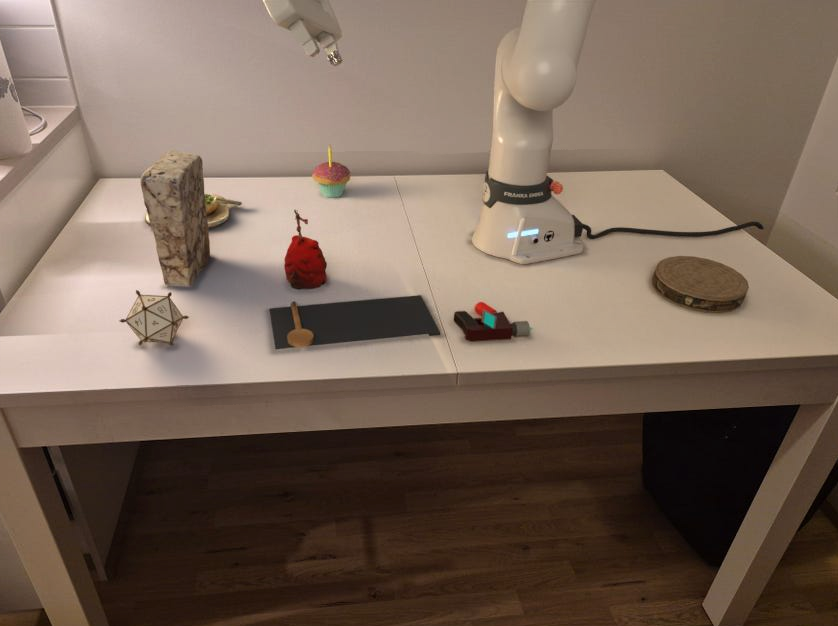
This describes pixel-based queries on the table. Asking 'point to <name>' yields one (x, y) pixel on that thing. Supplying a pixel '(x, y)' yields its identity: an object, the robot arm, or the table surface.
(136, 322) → the game die
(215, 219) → the salad plate
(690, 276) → the wood slice
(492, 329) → the toy gun
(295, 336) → the spoon
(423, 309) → the placemat
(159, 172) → the stone block
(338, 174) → the cupcake
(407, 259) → the table surface
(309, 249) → the red clay folk toy
